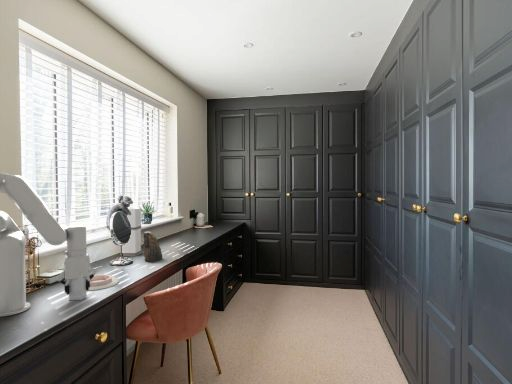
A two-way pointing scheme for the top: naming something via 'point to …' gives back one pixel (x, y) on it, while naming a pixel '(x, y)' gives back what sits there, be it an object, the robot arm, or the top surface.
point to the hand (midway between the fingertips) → (77, 291)
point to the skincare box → (77, 288)
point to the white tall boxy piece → (134, 234)
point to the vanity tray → (102, 282)
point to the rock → (151, 248)
